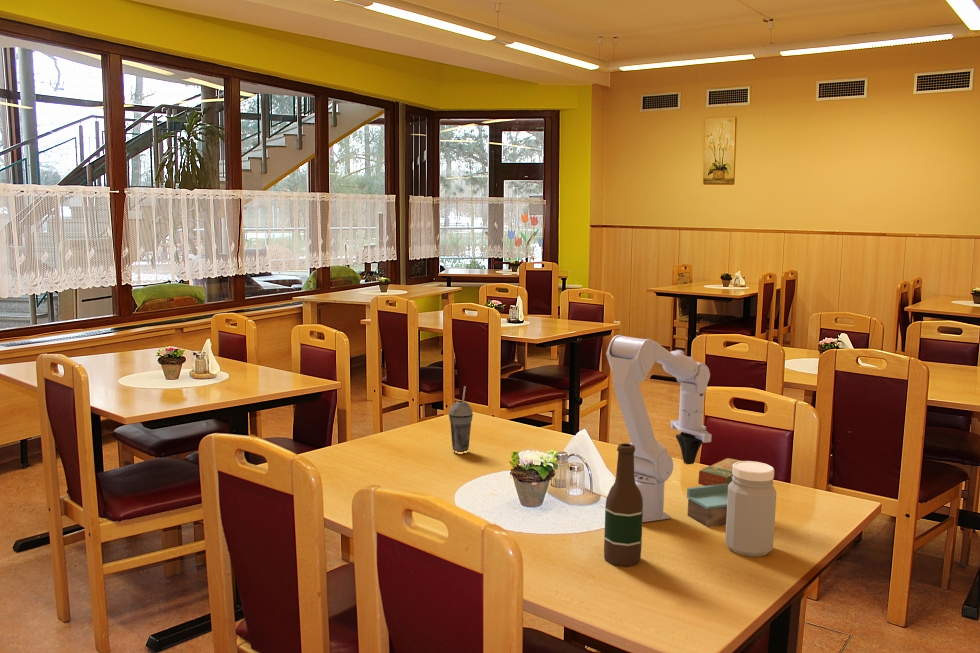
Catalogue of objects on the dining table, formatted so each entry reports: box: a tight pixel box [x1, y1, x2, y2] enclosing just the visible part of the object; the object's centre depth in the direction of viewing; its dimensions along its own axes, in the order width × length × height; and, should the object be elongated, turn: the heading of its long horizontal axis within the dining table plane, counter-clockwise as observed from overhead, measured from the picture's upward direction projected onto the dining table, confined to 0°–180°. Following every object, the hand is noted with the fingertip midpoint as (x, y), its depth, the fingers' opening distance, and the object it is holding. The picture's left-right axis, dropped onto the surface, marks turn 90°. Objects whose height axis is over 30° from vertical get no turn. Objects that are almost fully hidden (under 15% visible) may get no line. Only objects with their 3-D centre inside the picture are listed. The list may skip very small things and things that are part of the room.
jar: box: [725, 460, 777, 558], centre depth 165 cm, size 10×10×18 cm
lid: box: [686, 483, 729, 509], centre depth 184 cm, size 11×8×2 cm
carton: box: [697, 457, 740, 486], centre depth 212 cm, size 8×16×4 cm, turn 136°
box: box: [687, 498, 727, 528], centre depth 184 cm, size 11×8×4 cm
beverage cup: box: [448, 385, 474, 452], centre depth 234 cm, size 7×7×20 cm
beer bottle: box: [603, 442, 643, 568], centre depth 159 cm, size 8×8×24 cm
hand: (688, 463), depth 195 cm, fingers closed
